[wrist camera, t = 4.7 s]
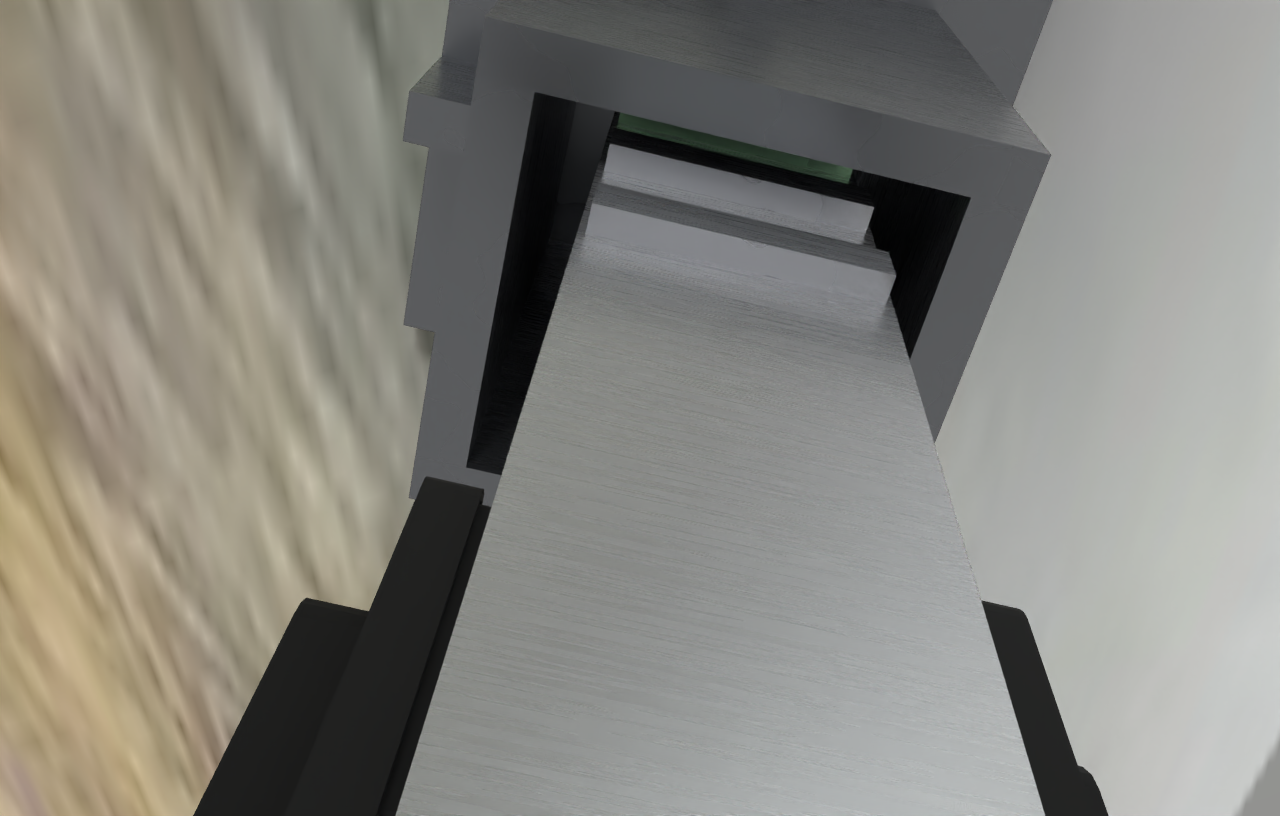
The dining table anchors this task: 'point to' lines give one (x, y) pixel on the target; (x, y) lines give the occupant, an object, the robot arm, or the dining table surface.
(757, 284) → the column
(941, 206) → the stand base
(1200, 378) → the dining table surface
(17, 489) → the dining table surface
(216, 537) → the dining table surface
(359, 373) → the dining table surface
